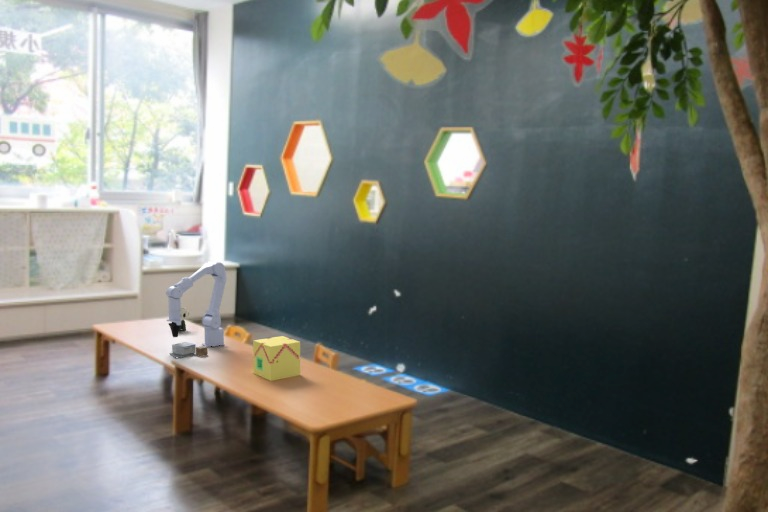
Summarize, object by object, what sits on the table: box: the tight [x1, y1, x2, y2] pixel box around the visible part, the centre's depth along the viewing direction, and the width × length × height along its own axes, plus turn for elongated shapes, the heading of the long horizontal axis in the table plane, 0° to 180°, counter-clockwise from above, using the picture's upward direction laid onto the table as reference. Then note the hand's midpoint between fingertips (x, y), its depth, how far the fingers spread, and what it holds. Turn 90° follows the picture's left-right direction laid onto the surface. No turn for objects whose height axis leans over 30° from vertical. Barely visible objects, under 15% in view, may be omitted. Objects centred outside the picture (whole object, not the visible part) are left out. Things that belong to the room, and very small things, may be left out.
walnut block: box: [195, 345, 209, 357], centre depth 318 cm, size 4×4×4 cm
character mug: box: [179, 307, 190, 332], centre depth 373 cm, size 11×7×13 cm, turn 127°
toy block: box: [252, 335, 301, 382], centre depth 286 cm, size 15×15×15 cm
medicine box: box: [171, 341, 197, 355], centre depth 320 cm, size 8×4×9 cm
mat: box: [169, 352, 194, 358], centre depth 318 cm, size 9×10×1 cm
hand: (175, 336), depth 325 cm, fingers closed
